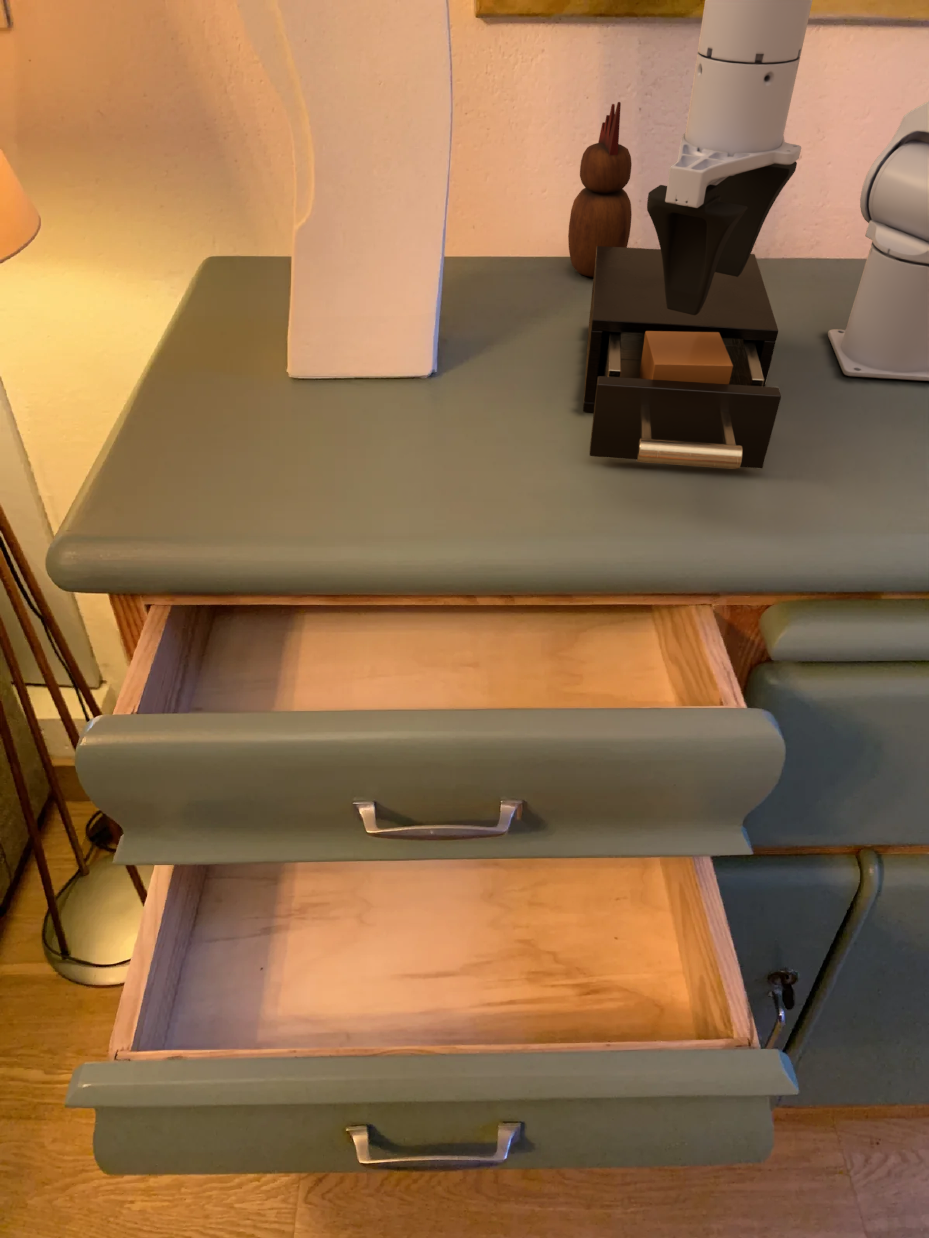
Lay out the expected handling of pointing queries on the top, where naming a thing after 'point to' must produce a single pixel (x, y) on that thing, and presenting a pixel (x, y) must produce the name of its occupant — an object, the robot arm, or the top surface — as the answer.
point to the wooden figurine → (601, 198)
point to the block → (685, 357)
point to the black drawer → (682, 411)
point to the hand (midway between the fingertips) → (705, 290)
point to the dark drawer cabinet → (638, 304)
